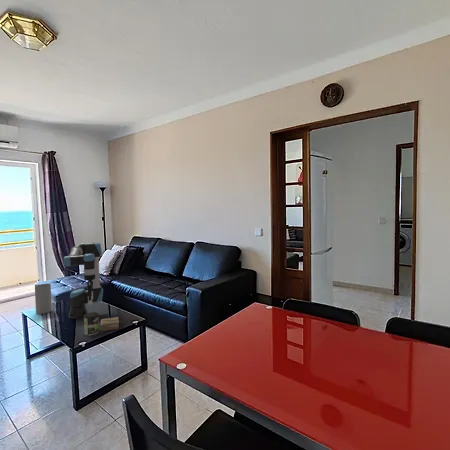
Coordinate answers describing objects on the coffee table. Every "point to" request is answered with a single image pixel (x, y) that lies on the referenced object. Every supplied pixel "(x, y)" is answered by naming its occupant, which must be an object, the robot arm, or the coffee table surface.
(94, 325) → the coffee can
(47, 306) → the cylinder vase
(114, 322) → the beech block
